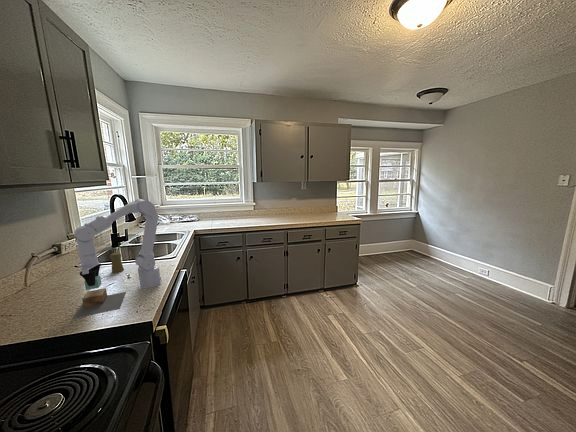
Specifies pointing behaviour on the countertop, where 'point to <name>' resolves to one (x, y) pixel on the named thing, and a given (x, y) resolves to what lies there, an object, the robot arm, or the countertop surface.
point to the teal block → (97, 283)
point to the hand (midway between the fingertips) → (93, 283)
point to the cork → (116, 263)
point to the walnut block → (94, 297)
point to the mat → (102, 306)
